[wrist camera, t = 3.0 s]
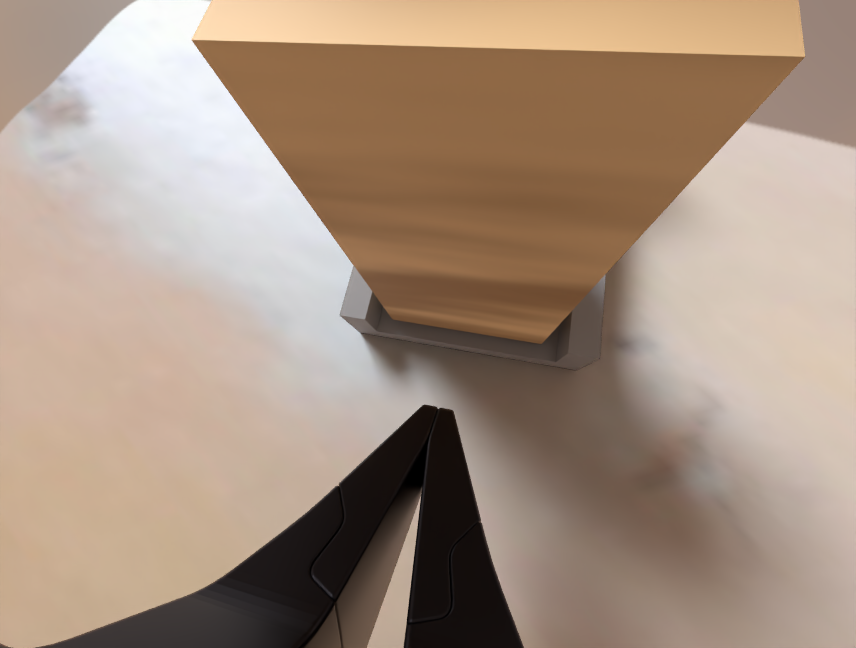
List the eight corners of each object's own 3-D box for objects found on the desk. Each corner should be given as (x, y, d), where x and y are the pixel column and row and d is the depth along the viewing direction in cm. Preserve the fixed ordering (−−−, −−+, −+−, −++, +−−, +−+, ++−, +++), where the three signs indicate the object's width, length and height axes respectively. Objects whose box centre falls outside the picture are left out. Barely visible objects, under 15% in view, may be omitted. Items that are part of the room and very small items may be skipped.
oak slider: (541, 344, 15) (805, 56, 3) (392, 319, 16) (191, 40, 4) (550, 264, 16) (777, -175, 4) (410, 246, 17) (284, -141, 5)
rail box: (576, 370, 16) (636, 340, 10) (359, 332, 18) (309, 289, 12) (596, 140, 20) (649, 24, 14) (413, 128, 21) (393, 20, 16)
